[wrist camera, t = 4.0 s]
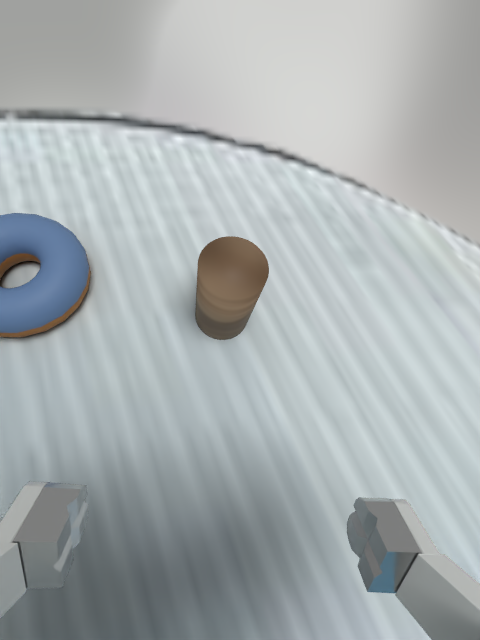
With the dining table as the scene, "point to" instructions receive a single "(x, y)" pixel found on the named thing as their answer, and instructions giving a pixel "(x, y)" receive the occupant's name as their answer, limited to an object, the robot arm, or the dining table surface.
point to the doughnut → (40, 274)
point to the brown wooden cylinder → (228, 285)
